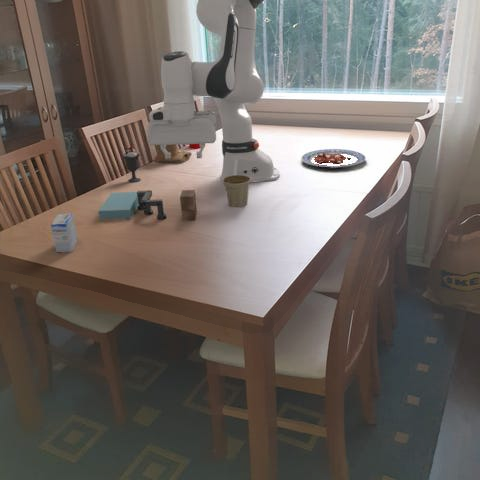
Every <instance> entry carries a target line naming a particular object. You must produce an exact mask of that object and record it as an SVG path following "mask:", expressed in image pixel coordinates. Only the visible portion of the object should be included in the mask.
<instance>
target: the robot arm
mask: <svg viewBox="0 0 480 480" xmlns="http://www.w3.org/2000/svg"><path fill="white" fill-rule="evenodd" d="M263 2H264V0H197V3H196V11H195V12H196V17H197V19H198V21H199V23H200V24H201V25H202V27H204V29H206V30H207V31H209V32H210V33H212V34H215V35H218V36H219V37H220V43H219V53H218V58H217V59H216V60H214V61H212V62H211V61H209V62H208V61H203V62H202V61H195V60H193V59H191V58H190V55H189V53H187V52H186V51H172V52H169V53H168V52H167V53H166V54H165V55H163V56H162V58H161V64H160V76H161V77H160V79H161V87H162V90H163V91H162V92H163V106H161V107H158V108H155V109H153V110H151V111H150V112H149V115H148V119H149V122H148V124H147V126H146V128H147V129H146V136H147V137H146V140H147V143H148V144H149V146H155V145H160V148H161V150H162V151H163V153H164V154H165V159H171V153H170V152H167V150H166V149H165V147H166V145H174V144H177V145H189V144H200V147H201V148H199V150H198V151H196V153H195V154H196V155H195V156H196V159H202V158H203V150H204V149H205V147H206V144H214V143H215V142H216V140H217V133H216V132H217V131H216V124H217V115H216V114H215V112H212V111H210V110H205V111H203V110H196V105H195V97H208V98H209V97H210V98H213V100H214V101H215V102H216V107H217V111H218V112H219V115H220V121H221V129H222V130H221V131H222V140H221V151H222V153H221V154H222V156H223V158H222V159H223V161H222V171H221V176H220V177H221V178H220V179H221V180H222V179H223V178H225V177H227V176H232V175H246V176H249V177H250V178H251V180H250V183H257V182H266V181H267V182H268V181H276V180H277V179H279V178H278V177H280V170H279V169H278V168H277V167H275V166H274V162H273V159H272V157H270V156H269V155H268V154H267V153H265V152H264V151H263V150H261V149H259V147H260V143H259V141H258V139H254V138H253V122H252V121H253V120H252V117H251V115H250V113H249V112H248V111H247V109H246V106H245V105H252V104H255V103H257V102H259V101H260V100H261V98H262V97H263V95H264V92H265V91H264V90H265V89H264V88H265V87H264V86H265V85H264V82H263V80H262V77H260V75H259V73H258V69H257V66H256V61H255V46H256V43H255V42H256V32H257V31H256V30H257V8H258V7H259V6H260V5H261V4H262V3H263ZM194 96H195V97H194Z"/></svg>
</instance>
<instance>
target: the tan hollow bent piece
mask: <svg viewBox="0 0 480 480" xmlns="http://www.w3.org/2000/svg"><path fill="white" fill-rule="evenodd" d="M177 145H178V144H174V145H166V147H165V149H166V150H167V152H170V153H171V159H165V154H164V153H163V151H162V150H161V148H160V145H154V146H155V148H156V150H157V153H158V154H157V155H156V156H155V157H154V161H155V162H160V163H161V162H162V163H165V162H166V163H167V162H168V163H169V162H186V161H188V160H189V159H190V158H191V156H192V152H191V151H180V150H178V146H177Z"/></svg>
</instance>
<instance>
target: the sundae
mask: <svg viewBox="0 0 480 480" xmlns="http://www.w3.org/2000/svg"><path fill="white" fill-rule="evenodd" d="M132 145H134V144H133V142H131V144H130V146H129V147H128V148H126V150H125V153H123V154H121V158H122V159H124V162H125V166H126V169H127V170H128V171H129V172H130V173H131V178H130V179H128V180H127V182H128V183H138V182H140V181H141V180H142V179H141V178H140V177H137V176H136V171H137V170H138V167H139V157H140V153H138V152H136V150H135V149H134V147H133V146H132Z"/></svg>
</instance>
